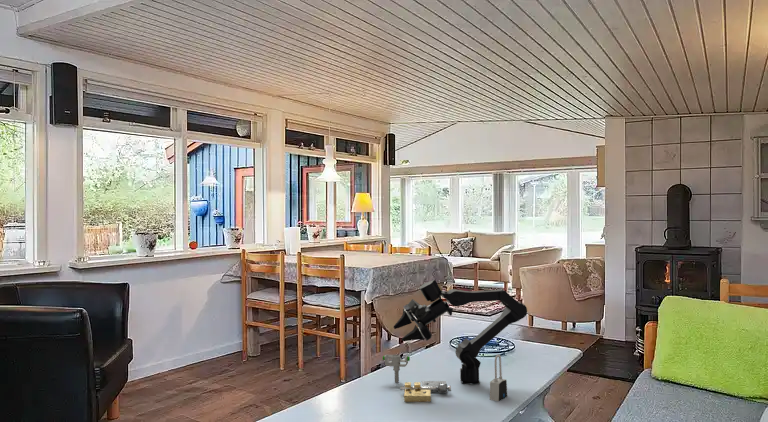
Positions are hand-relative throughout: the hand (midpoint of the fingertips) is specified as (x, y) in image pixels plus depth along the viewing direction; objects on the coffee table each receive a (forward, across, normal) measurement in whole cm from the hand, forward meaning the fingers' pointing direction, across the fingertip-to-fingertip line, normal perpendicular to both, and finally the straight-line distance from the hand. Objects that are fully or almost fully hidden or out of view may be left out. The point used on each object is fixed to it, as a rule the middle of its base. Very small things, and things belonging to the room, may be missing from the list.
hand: (398, 333), depth 216 cm
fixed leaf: (+2, +15, +17) cm, 23 cm away
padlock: (-18, +31, +23) cm, 42 cm away
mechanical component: (+10, +1, +18) cm, 20 cm away
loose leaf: (+6, +20, +13) cm, 24 cm away
